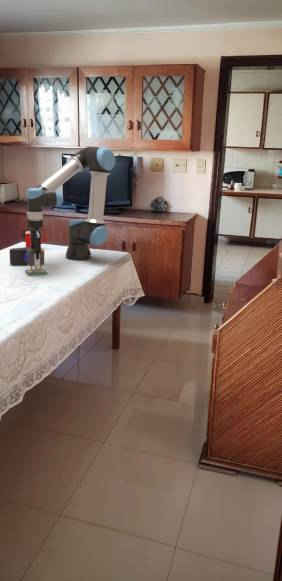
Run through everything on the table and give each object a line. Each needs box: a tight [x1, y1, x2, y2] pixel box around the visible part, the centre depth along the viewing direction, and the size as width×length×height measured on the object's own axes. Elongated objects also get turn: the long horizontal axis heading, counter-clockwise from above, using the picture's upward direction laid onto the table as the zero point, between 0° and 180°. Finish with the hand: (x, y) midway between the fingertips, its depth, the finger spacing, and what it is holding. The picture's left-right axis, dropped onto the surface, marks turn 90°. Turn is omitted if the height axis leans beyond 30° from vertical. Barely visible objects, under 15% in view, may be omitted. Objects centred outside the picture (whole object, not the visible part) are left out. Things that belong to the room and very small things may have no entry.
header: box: [24, 265, 48, 277], centre depth 236 cm, size 10×7×6 cm
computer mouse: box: [9, 246, 31, 266], centre depth 250 cm, size 16×5×9 cm, turn 123°
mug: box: [24, 230, 46, 247], centre depth 285 cm, size 12×8×11 cm
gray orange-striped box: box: [27, 247, 45, 267], centre depth 234 cm, size 8×5×8 cm, turn 116°
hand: (36, 263), depth 235 cm, fingers closed on gray orange-striped box, 5 cm apart
